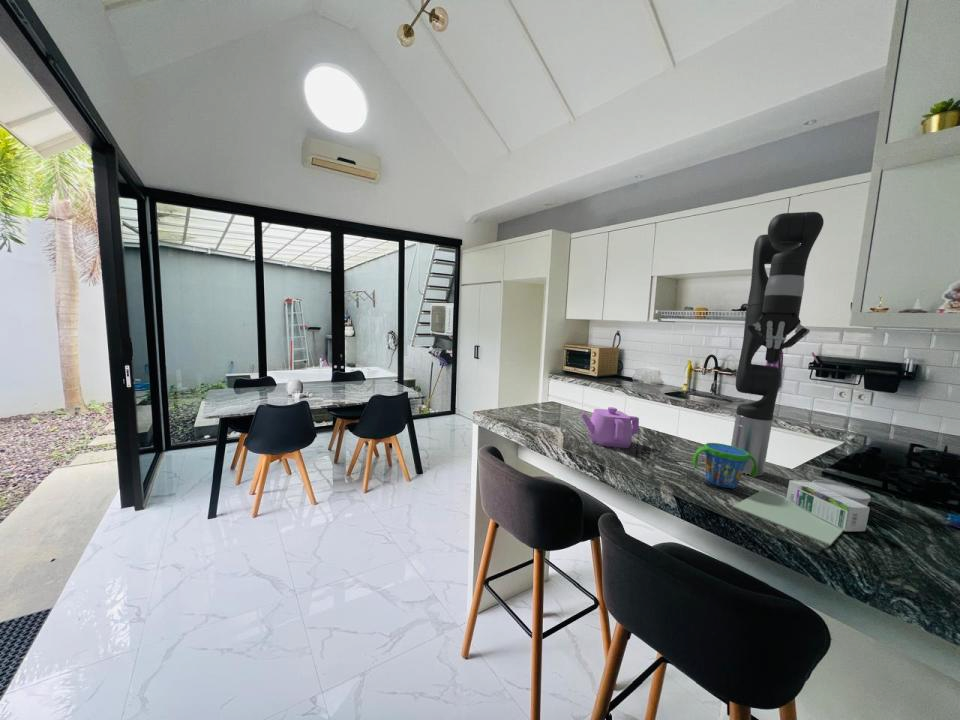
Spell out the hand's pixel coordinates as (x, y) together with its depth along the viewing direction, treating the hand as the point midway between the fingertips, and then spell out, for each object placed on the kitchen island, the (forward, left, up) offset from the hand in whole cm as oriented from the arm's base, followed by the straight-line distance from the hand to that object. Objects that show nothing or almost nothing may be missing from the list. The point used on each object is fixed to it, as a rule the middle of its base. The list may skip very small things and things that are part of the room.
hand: (771, 363), depth 99 cm
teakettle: (-3, -46, -35) cm, 58 cm away
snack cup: (0, -7, -35) cm, 36 cm away
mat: (+4, +10, -35) cm, 37 cm away
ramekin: (-13, +15, -35) cm, 40 cm away
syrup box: (+1, +21, -32) cm, 38 cm away
